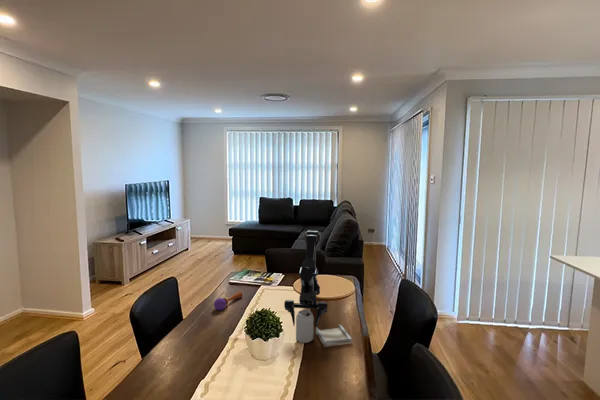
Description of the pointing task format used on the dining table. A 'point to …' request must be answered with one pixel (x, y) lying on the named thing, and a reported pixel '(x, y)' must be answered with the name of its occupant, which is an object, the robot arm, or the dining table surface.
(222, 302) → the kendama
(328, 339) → the rail dock
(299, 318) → the can
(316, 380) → the dining table surface
